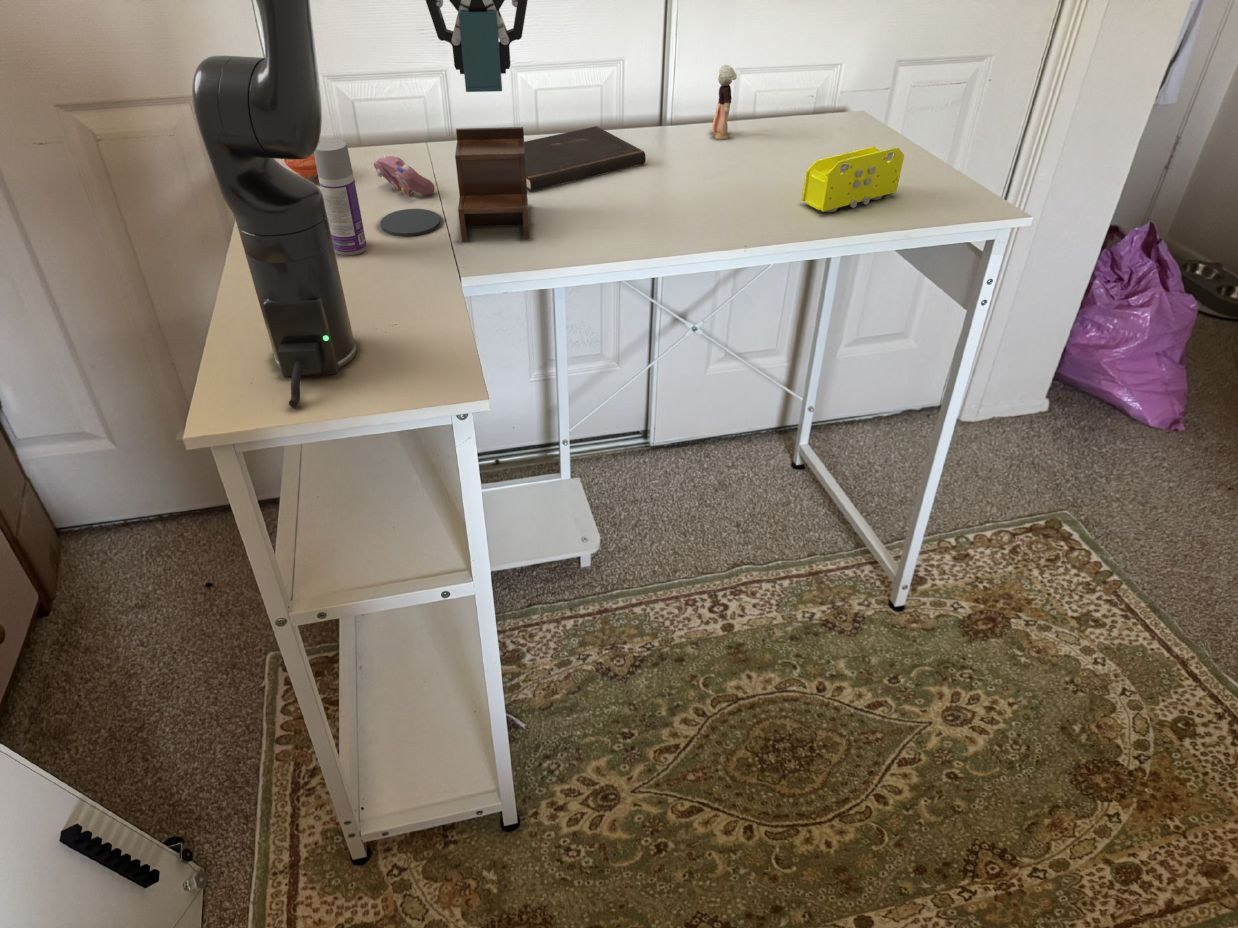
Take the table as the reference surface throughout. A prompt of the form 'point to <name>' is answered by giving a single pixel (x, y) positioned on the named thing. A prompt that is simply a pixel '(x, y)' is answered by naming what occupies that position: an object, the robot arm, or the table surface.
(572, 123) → the table surface
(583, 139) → the hardcover book
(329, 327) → the robot arm
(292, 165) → the pot
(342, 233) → the container
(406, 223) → the coaster
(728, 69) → the grandmother figurine
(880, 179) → the yellow toy chassis
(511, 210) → the shelf
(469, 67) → the holder
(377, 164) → the video game controller
